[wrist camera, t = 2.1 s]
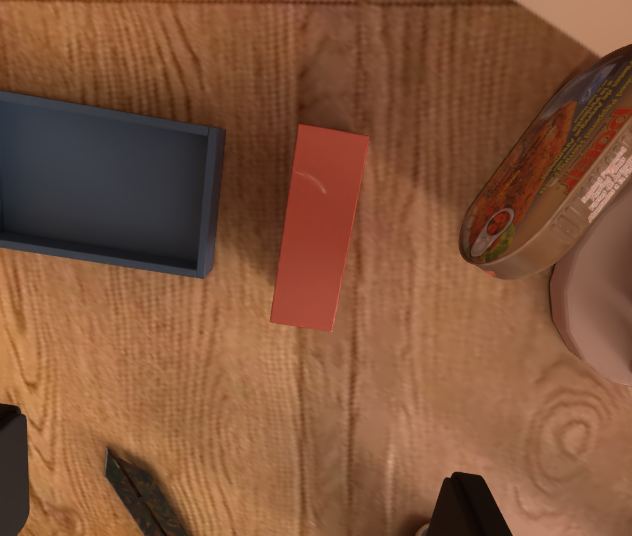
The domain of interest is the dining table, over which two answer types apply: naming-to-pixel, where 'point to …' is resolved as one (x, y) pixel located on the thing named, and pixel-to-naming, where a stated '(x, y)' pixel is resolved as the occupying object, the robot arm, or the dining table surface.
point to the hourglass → (599, 293)
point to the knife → (142, 498)
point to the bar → (317, 226)
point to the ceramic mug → (423, 530)
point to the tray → (108, 185)
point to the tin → (556, 175)
